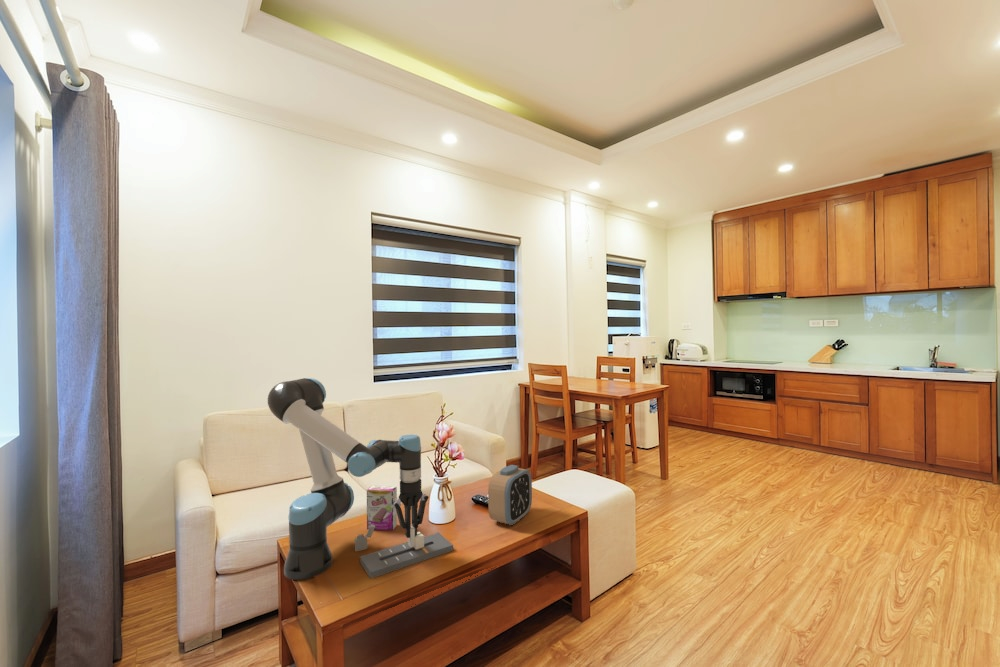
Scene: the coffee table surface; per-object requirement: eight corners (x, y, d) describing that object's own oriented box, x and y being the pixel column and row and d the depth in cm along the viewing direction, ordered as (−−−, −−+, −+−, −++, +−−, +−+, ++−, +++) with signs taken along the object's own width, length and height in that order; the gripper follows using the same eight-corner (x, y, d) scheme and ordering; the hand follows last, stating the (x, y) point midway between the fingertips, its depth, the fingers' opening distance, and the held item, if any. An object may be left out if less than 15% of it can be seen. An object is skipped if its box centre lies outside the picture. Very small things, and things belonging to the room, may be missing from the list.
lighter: (355, 551, 153) (355, 529, 153) (354, 549, 155) (354, 527, 155) (375, 546, 157) (375, 525, 157) (374, 544, 158) (374, 523, 158)
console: (370, 578, 136) (370, 571, 136) (360, 562, 146) (359, 555, 146) (453, 550, 153) (453, 544, 153) (438, 537, 163) (438, 531, 163)
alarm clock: (508, 532, 166) (508, 477, 166) (488, 526, 171) (487, 473, 171) (532, 512, 184) (532, 463, 184) (513, 508, 189) (513, 460, 189)
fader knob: (416, 554, 149) (415, 538, 149) (411, 549, 152) (410, 533, 152) (424, 552, 151) (424, 535, 151) (419, 547, 154) (419, 530, 154)
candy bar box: (366, 530, 170) (365, 489, 170) (371, 524, 175) (370, 485, 175) (393, 531, 169) (392, 490, 169) (397, 525, 174) (397, 485, 174)
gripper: (396, 486, 144) (397, 555, 143) (431, 478, 151) (432, 544, 151) (389, 480, 150) (390, 546, 150) (423, 472, 157) (424, 536, 157)
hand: (411, 545), depth 150 cm, fingers closed
